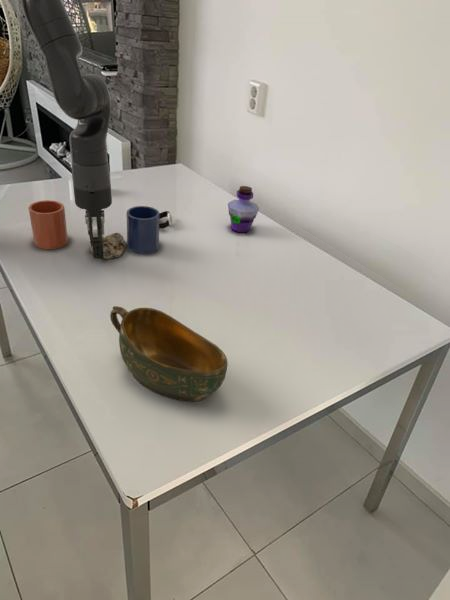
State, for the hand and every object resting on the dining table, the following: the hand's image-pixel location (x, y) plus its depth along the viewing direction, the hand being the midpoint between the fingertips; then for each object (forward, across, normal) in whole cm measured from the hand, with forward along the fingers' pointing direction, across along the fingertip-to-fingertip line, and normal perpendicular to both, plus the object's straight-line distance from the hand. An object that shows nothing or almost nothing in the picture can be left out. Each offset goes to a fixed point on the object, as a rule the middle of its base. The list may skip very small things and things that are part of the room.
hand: (98, 256), depth 102 cm
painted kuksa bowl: (+3, +38, +11) cm, 40 cm away
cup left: (+1, -11, -11) cm, 15 cm away
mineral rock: (+2, -6, +2) cm, 7 cm away
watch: (+2, -19, +17) cm, 26 cm away
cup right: (+2, -7, +11) cm, 13 cm away
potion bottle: (+2, -16, +38) cm, 41 cm away
